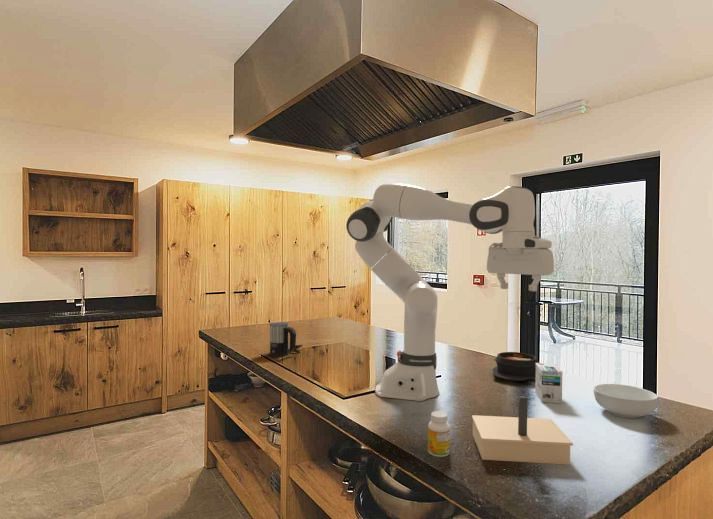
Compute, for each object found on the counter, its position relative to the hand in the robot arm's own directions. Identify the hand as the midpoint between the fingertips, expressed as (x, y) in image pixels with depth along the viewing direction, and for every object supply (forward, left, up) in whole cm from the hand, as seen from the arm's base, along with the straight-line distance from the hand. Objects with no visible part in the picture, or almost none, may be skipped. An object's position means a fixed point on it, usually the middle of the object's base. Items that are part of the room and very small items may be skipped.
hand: (518, 289), depth 126 cm
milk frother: (-89, +75, -39) cm, 123 cm away
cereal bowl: (+36, +12, -39) cm, 54 cm away
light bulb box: (+17, +24, -39) cm, 49 cm away
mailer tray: (-4, -18, -39) cm, 43 cm away
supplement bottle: (-24, -22, -39) cm, 51 cm away
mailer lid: (-4, -18, -34) cm, 39 cm away
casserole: (+13, +49, -39) cm, 64 cm away
